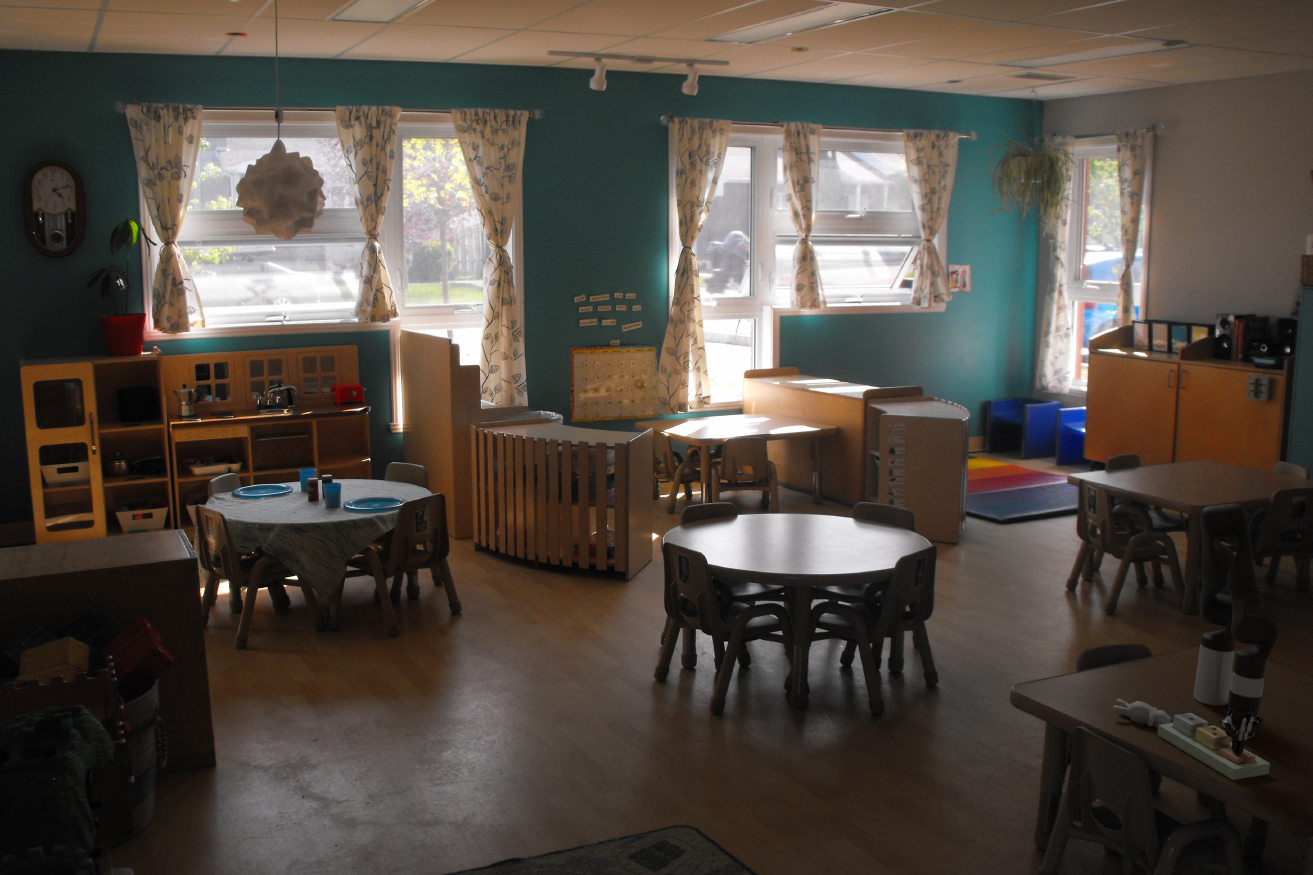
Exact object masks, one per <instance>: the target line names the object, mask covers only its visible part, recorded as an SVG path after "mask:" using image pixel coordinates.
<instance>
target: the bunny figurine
mask: <svg viewBox="0 0 1313 875" xmlns="http://www.w3.org/2000/svg"><path fill="white" fill-rule="evenodd" d="M1115 703H1116V704H1118V705H1113V707H1112V711H1113V712H1114V713H1115V712H1116V713H1120V714H1121V713H1123V714H1128V716H1129V719H1130V720H1131V721H1132V722H1134V723H1137V724H1139V725H1140V724H1141V725H1147V726H1149V727H1152V726H1153V727H1155V728H1157V729H1158V725H1162V724H1169V723H1171V721H1172V717H1171V716H1169V714H1168V713H1167V712H1166V711H1164V710H1162V709H1158V707H1155V706H1152V705H1150V704H1148V703H1146V702H1144V701H1140V700H1136V701H1134V702H1131V703H1129V702H1127V701H1125V700H1123V699H1121V698H1117V699H1116V700H1115Z"/></svg>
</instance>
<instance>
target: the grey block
mask: <svg viewBox="0 0 1313 875" xmlns="http://www.w3.org/2000/svg"><path fill="white" fill-rule="evenodd" d="M1172 720H1173V722H1172V723H1173V727H1172V728H1173V729H1175V730H1177V731H1179V732H1180V733H1182V734H1184V735H1186V736H1187V737H1189V738H1190V737H1195V736H1196V728H1199V727H1206V726H1209V721H1207V720H1205V719H1203V718H1201V717H1200V716H1197V715H1195V713H1192V712H1189V713H1188V712H1187V713H1181V714H1174V715H1173V719H1172Z"/></svg>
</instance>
